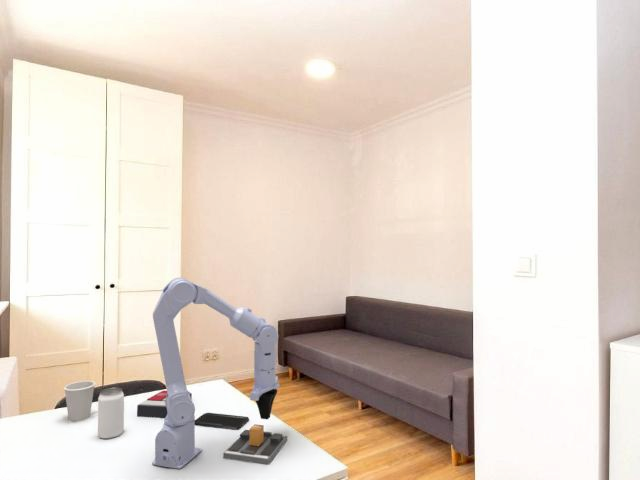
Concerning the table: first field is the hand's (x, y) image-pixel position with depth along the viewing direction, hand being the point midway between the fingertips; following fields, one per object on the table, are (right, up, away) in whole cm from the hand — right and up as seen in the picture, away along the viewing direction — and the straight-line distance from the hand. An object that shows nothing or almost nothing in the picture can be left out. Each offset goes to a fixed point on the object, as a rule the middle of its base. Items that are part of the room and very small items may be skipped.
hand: (265, 418), depth 111 cm
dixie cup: (-59, -7, +15) cm, 61 cm away
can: (-44, -6, +3) cm, 44 cm away
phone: (-15, -7, +11) cm, 19 cm away
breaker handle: (-2, -4, -5) cm, 7 cm away
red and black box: (-35, -7, +22) cm, 42 cm away
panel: (-2, -6, -5) cm, 8 cm away
